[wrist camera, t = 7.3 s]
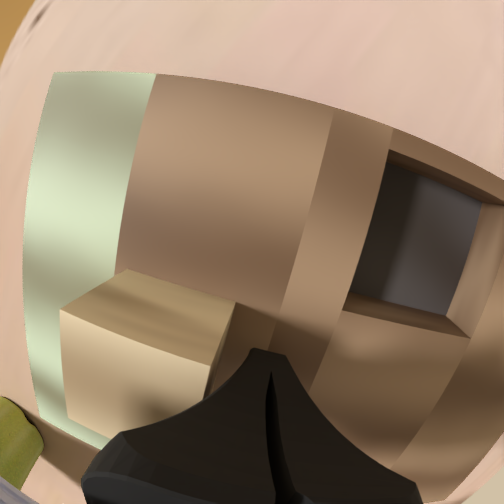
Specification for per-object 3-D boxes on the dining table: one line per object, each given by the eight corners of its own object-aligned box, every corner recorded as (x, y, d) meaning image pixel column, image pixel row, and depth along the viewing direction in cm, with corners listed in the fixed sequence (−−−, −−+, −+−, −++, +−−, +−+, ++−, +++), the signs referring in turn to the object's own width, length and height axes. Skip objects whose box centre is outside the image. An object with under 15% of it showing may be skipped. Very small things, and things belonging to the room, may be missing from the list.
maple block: (212, 392, 11) (186, 467, 7) (118, 359, 11) (67, 417, 7) (235, 301, 10) (210, 366, 6) (127, 269, 10) (59, 309, 7)
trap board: (432, 471, 15) (444, 500, 12) (64, 392, 16) (40, 417, 13) (554, 230, 11) (588, 239, 8) (90, 87, 12) (53, 72, 9)
